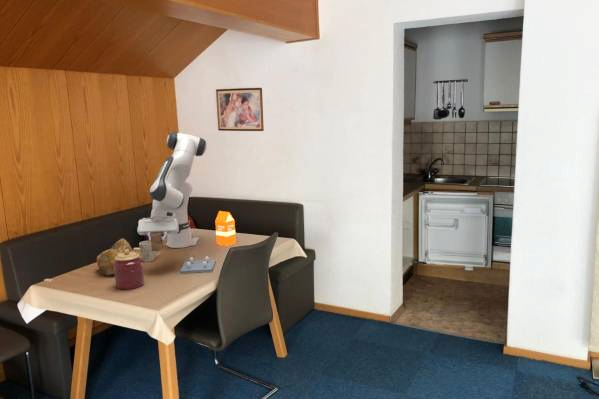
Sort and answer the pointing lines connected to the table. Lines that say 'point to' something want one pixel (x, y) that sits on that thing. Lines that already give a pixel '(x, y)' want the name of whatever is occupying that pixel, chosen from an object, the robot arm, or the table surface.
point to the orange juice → (225, 229)
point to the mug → (147, 251)
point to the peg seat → (198, 266)
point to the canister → (128, 270)
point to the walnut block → (156, 242)
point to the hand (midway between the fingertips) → (156, 240)
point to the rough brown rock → (111, 257)
